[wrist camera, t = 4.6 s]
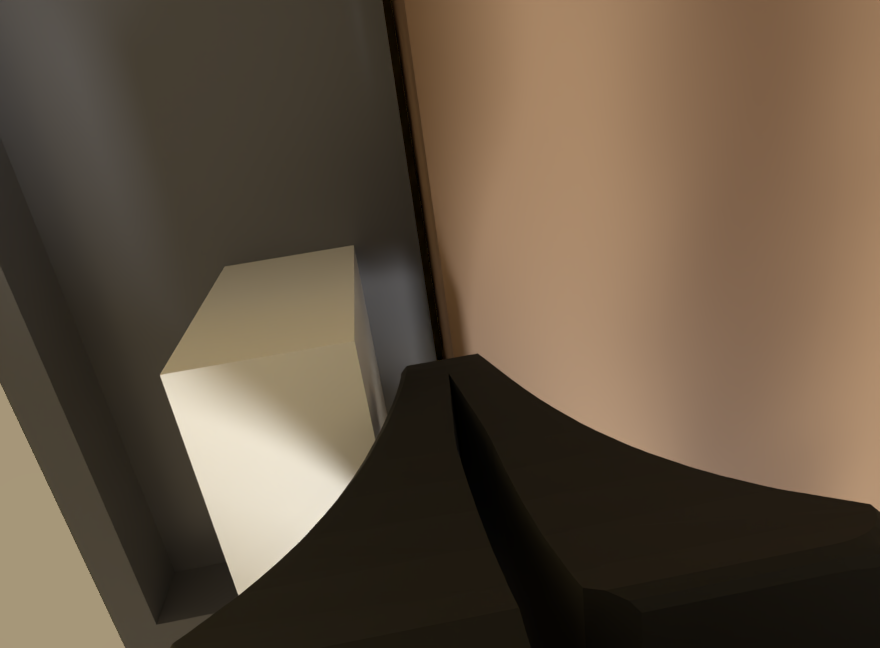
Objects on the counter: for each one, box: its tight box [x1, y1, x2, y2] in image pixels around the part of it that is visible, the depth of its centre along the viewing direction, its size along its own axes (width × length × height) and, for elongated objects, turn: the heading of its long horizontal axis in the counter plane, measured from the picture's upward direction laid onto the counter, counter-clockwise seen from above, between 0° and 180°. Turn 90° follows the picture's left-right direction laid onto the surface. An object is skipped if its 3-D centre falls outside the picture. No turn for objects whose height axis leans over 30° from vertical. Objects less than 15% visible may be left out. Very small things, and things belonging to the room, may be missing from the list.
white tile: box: [160, 245, 387, 595], centre depth 11 cm, size 4×4×2 cm
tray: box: [0, 0, 437, 648], centre depth 11 cm, size 8×20×2 cm, turn 8°
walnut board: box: [391, 0, 880, 511], centre depth 12 cm, size 12×20×3 cm, turn 7°
